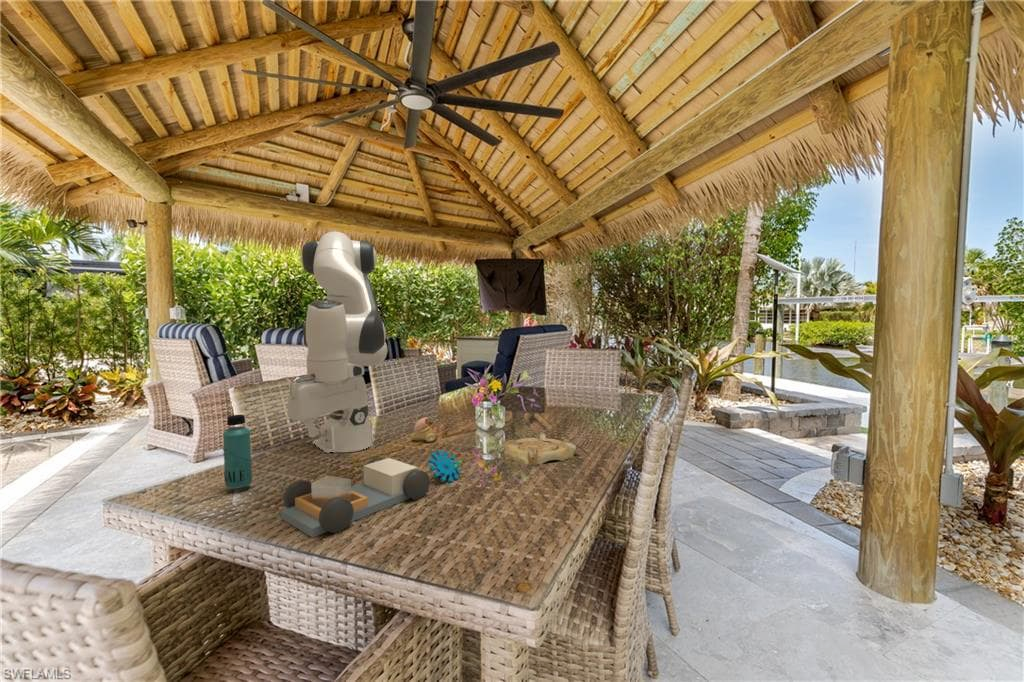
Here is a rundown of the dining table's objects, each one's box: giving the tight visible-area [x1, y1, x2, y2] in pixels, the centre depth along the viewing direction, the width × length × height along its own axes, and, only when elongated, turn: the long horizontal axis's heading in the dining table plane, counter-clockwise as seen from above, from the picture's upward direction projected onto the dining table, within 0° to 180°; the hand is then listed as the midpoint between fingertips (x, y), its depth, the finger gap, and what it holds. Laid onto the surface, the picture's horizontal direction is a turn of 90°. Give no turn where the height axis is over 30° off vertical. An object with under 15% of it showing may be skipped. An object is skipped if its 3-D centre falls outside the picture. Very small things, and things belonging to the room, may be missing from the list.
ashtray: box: [501, 432, 578, 466], centre depth 154 cm, size 24×24×5 cm
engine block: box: [310, 475, 352, 509], centre depth 108 cm, size 7×5×6 cm
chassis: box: [280, 456, 431, 539], centre depth 114 cm, size 18×32×7 cm, turn 141°
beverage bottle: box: [222, 414, 253, 489], centre depth 123 cm, size 6×7×20 cm
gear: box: [427, 449, 463, 483], centre depth 133 cm, size 11×6×10 cm
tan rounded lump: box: [409, 416, 438, 443], centre depth 168 cm, size 9×10×10 cm
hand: (329, 431), depth 107 cm, fingers open, 8 cm apart
